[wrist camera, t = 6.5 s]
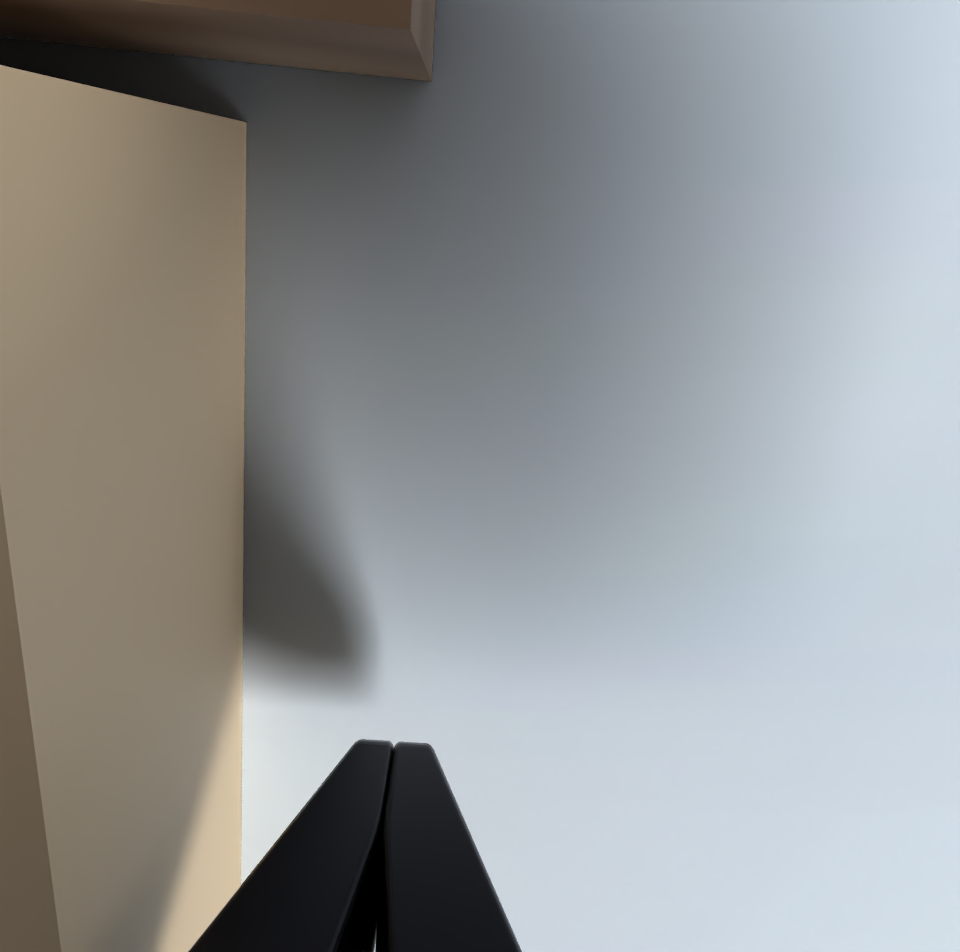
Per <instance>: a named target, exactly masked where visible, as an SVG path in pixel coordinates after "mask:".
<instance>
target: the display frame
mask: <svg viewBox="0 0 960 952" xmlns="http://www.w3.org/2000/svg"><path fill="white" fill-rule="evenodd" d="M435 12H436V0H0V38H10V39H20V40H30V41H40V42H49V43H59V44H69V45H79V46H89V47H98V48H108V49H118V50H128V51H138V52H147V53H157V54H167V55H177V56H187V57H196V58H206V59H216V60H226V61H236V62H245V63H255V64H265V65H275V66H285V67H294V68H304V69H314V70H324V71H334V72H344V73H353V74H363V75H373V76H383V77H393V78H402V79H412V80H422V81H432V65H433V48H434V30H435Z"/></svg>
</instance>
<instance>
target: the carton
mask: <svg viewBox="0 0 960 952" xmlns="http://www.w3.org/2000/svg"><path fill="white" fill-rule="evenodd" d="M246 125H247V122H243V121H239V120H234V119H230V118H226V117H221V116H217V115H213V114H209V113H204V112H200V111H196V110H191V109H187V108H183V107H179V106H174V105H170V104H166V103H161V102H157V101H153V100H149V99H144V98H140V97H136V96H131V95H127V94H123V93H119V92H114V91H110V90H106V89H101V88H97V87H93V86H89V85H84V84H80V83H76V82H71V81H67V80H63V79H58V78H54V77H50V76H46V75H41V74H37V73H33V72H28V71H24V70H20V69H16V68H11V67H7V66H3V65H0V952H188V951H189V950H190V949H191V948H192V946H193V945H194V944H195V943H196V941H197V940H198V939H199V938H200V936H201V935H202V934H203V933H204V931H205V930H206V929H207V928H208V926H209V925H210V924H211V923H212V921H213V920H214V919H215V917H216V916H217V915H218V914H219V912H220V911H221V910H222V909H223V907H224V906H225V905H226V904H227V902H228V901H229V900H230V899H231V897H232V896H233V895H234V894H235V892H236V891H237V890H238V889H239V887H240V886H241V821H242V682H243V543H244V404H245V264H246Z"/></svg>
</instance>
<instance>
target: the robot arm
mask: <svg viewBox="0 0 960 952" xmlns="http://www.w3.org/2000/svg"><path fill="white" fill-rule="evenodd" d="M375 942H376V950H375V952H522V951H521V949H520V946H519V944H518V942H517V940H516V937H515V935H514V933H513V930H512V928H511V926H510V924H509V921H508V919H507V917H506V914H505V912H504V910H503V907H502V905H501V903H500V901H499V898H498V896H497V894H496V891H495V889H494V887H493V885H492V882H491V880H490V878H489V875H488V873H487V871H486V868H485V866H484V864H483V862H482V859H481V857H480V855H479V852H478V850H477V848H476V845H475V843H474V841H473V839H472V836H471V834H470V832H469V829H468V827H467V825H466V823H465V820H464V818H463V816H462V813H461V811H460V809H459V806H458V804H457V802H456V800H455V797H454V795H453V793H452V790H451V788H450V786H449V784H448V781H447V779H446V777H445V774H444V772H443V770H442V767H441V765H440V763H439V761H438V758H437V756H436V754H435V751H434V749H433V748H432V746H431V745H429V744H427V743H414V742H398V743H397V744H396V745H395V747H393V744H392V743H391V742H390V741H382V740H365V739H361V740H358V741H357V742H355V743H354V745H353V746H352V747H351V748H350V749H349V751H348V752H347V753H346V754H345V756H344V757H343V758H342V759H341V761H340V762H339V763H338V764H337V766H336V767H335V768H334V769H333V771H332V772H331V773H330V774H329V776H328V777H327V778H326V779H325V781H324V782H323V783H322V784H321V786H320V787H319V788H318V790H317V791H316V792H315V793H314V795H313V796H312V797H311V798H310V800H309V801H308V802H307V803H306V805H305V806H304V807H303V808H302V810H301V811H300V812H299V813H298V815H297V816H296V817H295V818H294V820H293V821H292V822H291V823H290V825H289V826H288V827H287V828H286V830H285V831H284V832H283V833H282V835H281V836H280V837H279V838H278V840H277V841H276V842H275V843H274V845H273V846H272V847H271V848H270V850H269V851H268V852H267V853H266V855H265V856H264V857H263V859H262V860H261V861H260V862H259V864H258V865H257V866H256V867H255V869H254V870H253V871H252V872H251V874H250V875H249V876H248V877H247V879H246V880H245V881H244V882H243V884H242V885H241V886H240V887H239V889H238V890H237V891H236V892H235V894H234V895H233V896H232V897H231V899H230V900H229V901H228V902H227V904H226V905H225V906H224V907H223V909H222V910H221V911H220V912H219V914H218V915H217V916H216V917H215V919H214V920H213V921H212V923H211V924H210V925H209V926H208V928H207V929H206V930H205V931H204V933H203V934H202V935H201V936H200V938H199V939H198V940H197V941H196V943H195V944H194V945H193V946H192V948H191V949H190V950H189V951H188V952H374V949H375Z"/></svg>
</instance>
